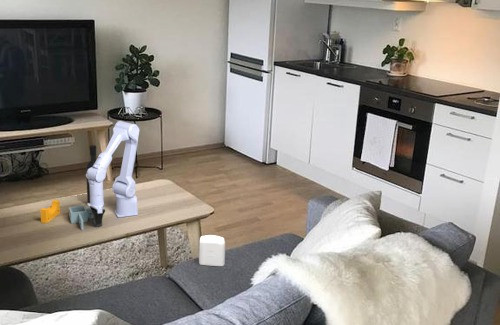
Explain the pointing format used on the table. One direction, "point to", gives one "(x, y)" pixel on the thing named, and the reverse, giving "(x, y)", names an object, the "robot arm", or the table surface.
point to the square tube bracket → (80, 215)
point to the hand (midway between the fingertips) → (97, 222)
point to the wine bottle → (89, 165)
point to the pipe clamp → (50, 212)
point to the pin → (95, 223)
